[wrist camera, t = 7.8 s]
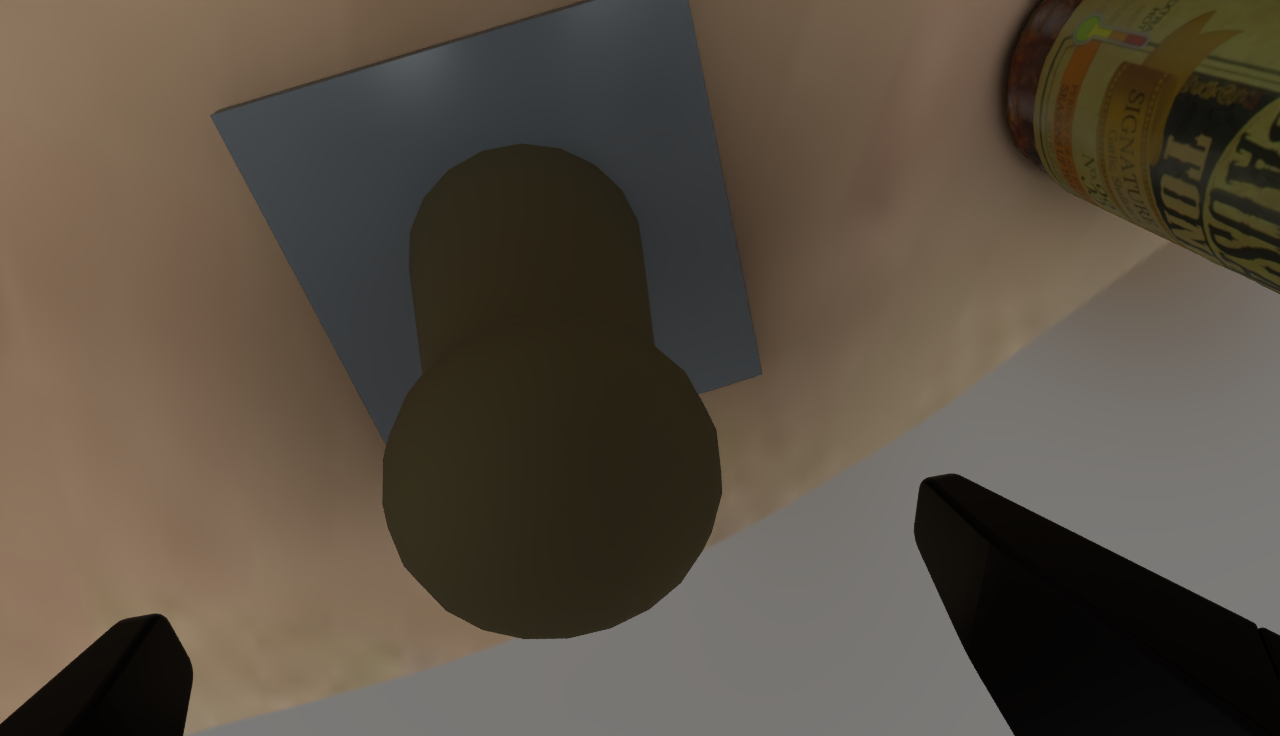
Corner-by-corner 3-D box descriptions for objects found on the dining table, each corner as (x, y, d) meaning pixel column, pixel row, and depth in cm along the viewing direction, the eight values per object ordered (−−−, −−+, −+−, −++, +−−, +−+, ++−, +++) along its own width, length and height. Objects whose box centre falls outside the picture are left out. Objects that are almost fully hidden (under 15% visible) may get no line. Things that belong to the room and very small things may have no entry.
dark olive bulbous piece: (688, 229, 20) (861, 484, 11) (560, 398, 22) (615, 741, 13) (488, 91, 18) (491, 269, 9) (363, 294, 20) (251, 625, 10)
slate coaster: (677, -28, 18) (683, -27, 17) (756, 364, 24) (762, 374, 23) (218, 109, 18) (210, 115, 17) (409, 472, 23) (407, 485, 23)
